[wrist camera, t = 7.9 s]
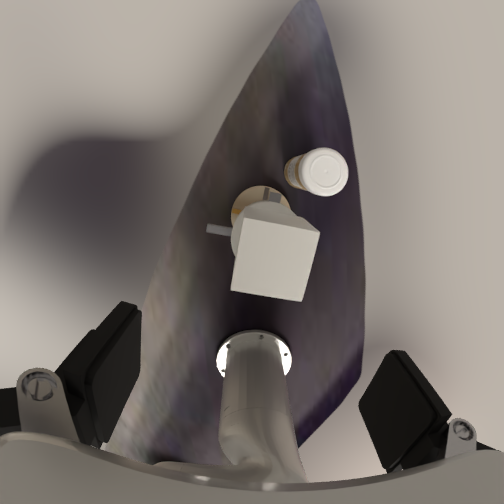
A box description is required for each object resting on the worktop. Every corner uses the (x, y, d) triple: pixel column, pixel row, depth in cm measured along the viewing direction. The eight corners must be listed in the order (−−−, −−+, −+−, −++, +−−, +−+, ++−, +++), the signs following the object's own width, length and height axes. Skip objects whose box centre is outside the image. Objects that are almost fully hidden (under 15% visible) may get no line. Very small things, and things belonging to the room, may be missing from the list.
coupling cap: (308, 199, 25) (335, 212, 17) (289, 278, 28) (305, 321, 19) (217, 181, 25) (202, 185, 17) (203, 263, 27) (186, 301, 19)
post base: (282, 247, 39) (296, 278, 28) (226, 236, 39) (218, 264, 27) (295, 192, 37) (315, 201, 26) (237, 180, 37) (232, 183, 25)
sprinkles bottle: (311, 191, 37) (343, 202, 24) (279, 183, 37) (296, 189, 24) (319, 160, 36) (354, 155, 23) (287, 151, 36) (308, 140, 23)
